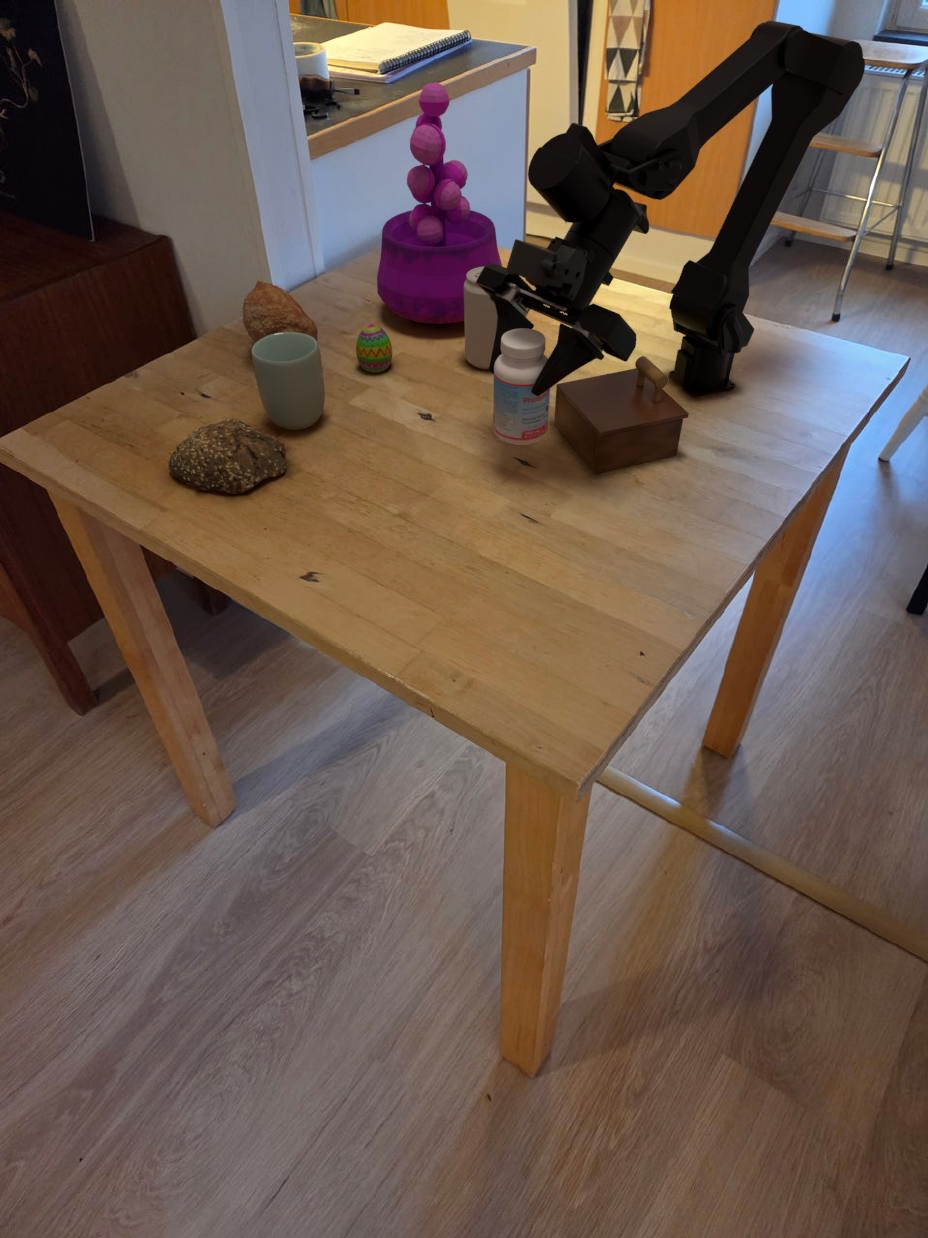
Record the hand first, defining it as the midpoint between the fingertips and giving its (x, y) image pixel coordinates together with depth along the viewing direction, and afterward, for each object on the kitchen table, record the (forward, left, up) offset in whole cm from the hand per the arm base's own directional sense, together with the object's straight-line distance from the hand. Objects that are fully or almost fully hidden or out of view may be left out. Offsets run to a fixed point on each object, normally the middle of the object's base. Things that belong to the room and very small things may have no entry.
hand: (512, 383), depth 90 cm
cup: (+21, -20, -11) cm, 31 cm away
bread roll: (+30, -13, -11) cm, 34 cm away
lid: (-15, -2, -6) cm, 16 cm away
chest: (-14, -2, -11) cm, 18 cm away
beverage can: (-7, -26, -11) cm, 29 cm away
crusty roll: (+19, -38, -11) cm, 44 cm away
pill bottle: (-1, -1, -7) cm, 7 cm away
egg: (+8, -30, -11) cm, 33 cm away
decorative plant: (-6, -43, -11) cm, 45 cm away
